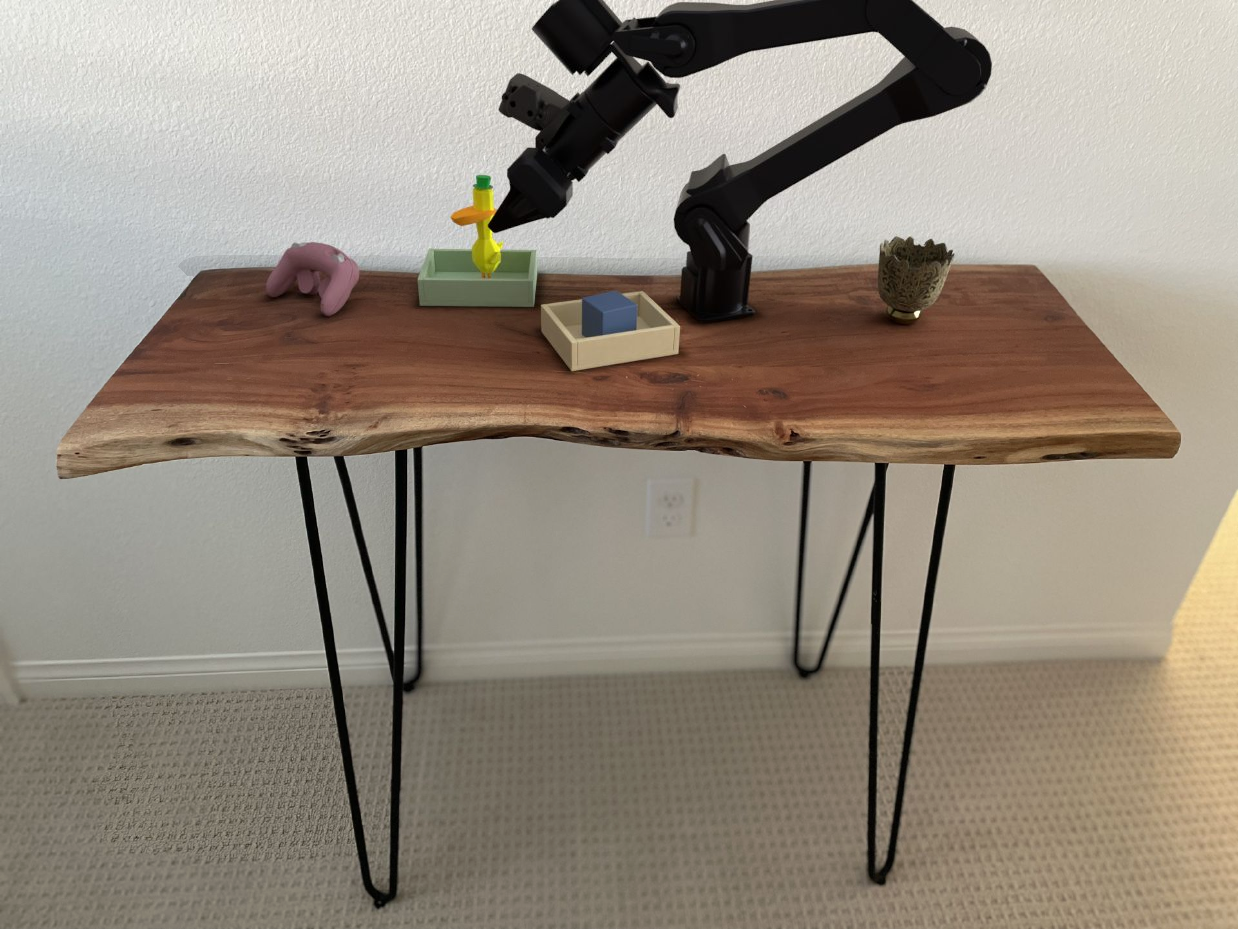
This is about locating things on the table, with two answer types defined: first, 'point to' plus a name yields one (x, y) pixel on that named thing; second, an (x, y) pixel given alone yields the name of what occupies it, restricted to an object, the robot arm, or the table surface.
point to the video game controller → (315, 274)
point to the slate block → (608, 314)
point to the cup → (911, 276)
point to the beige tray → (609, 335)
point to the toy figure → (481, 226)
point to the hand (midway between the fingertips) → (501, 215)
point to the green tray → (477, 279)
